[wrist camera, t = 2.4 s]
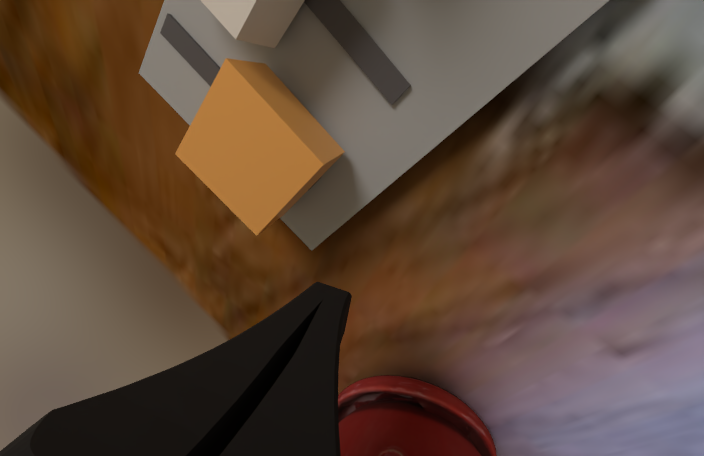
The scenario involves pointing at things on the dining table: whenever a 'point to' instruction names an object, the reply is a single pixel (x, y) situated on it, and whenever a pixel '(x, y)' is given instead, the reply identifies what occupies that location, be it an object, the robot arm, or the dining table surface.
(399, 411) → the plant pot
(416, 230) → the dining table surface
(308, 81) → the panel
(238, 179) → the block
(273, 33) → the block
